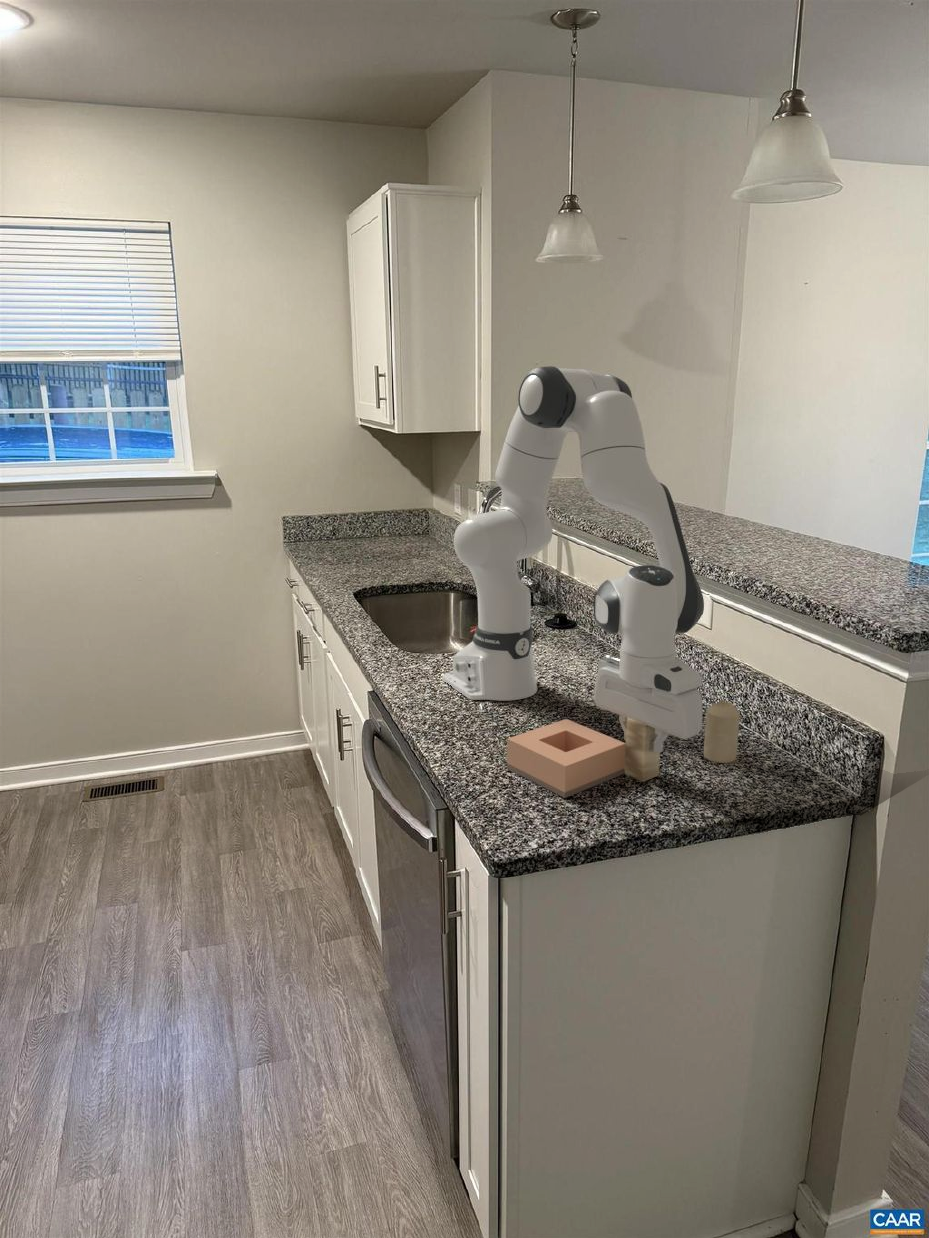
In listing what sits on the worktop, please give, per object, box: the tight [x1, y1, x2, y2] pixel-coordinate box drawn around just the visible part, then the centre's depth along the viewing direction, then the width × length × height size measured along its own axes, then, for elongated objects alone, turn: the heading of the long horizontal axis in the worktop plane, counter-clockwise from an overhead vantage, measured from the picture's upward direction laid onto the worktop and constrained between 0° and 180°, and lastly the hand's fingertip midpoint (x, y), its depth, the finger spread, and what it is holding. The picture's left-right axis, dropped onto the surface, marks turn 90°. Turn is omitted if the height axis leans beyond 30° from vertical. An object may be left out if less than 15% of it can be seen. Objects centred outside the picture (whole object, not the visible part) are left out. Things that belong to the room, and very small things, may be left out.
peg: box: [623, 718, 661, 783], centre depth 140 cm, size 4×4×10 cm
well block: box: [506, 718, 626, 799], centre depth 142 cm, size 14×14×6 cm
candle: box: [703, 700, 741, 764], centre depth 146 cm, size 6×6×10 cm
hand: (643, 746), depth 140 cm, fingers closed on peg, 4 cm apart
